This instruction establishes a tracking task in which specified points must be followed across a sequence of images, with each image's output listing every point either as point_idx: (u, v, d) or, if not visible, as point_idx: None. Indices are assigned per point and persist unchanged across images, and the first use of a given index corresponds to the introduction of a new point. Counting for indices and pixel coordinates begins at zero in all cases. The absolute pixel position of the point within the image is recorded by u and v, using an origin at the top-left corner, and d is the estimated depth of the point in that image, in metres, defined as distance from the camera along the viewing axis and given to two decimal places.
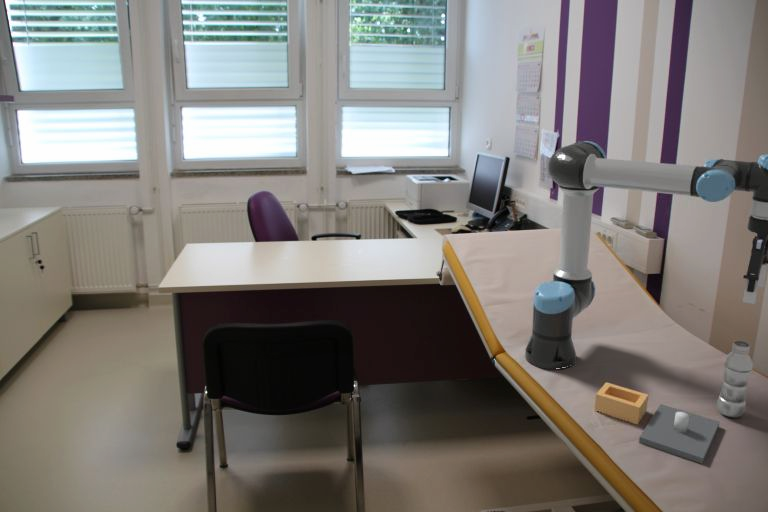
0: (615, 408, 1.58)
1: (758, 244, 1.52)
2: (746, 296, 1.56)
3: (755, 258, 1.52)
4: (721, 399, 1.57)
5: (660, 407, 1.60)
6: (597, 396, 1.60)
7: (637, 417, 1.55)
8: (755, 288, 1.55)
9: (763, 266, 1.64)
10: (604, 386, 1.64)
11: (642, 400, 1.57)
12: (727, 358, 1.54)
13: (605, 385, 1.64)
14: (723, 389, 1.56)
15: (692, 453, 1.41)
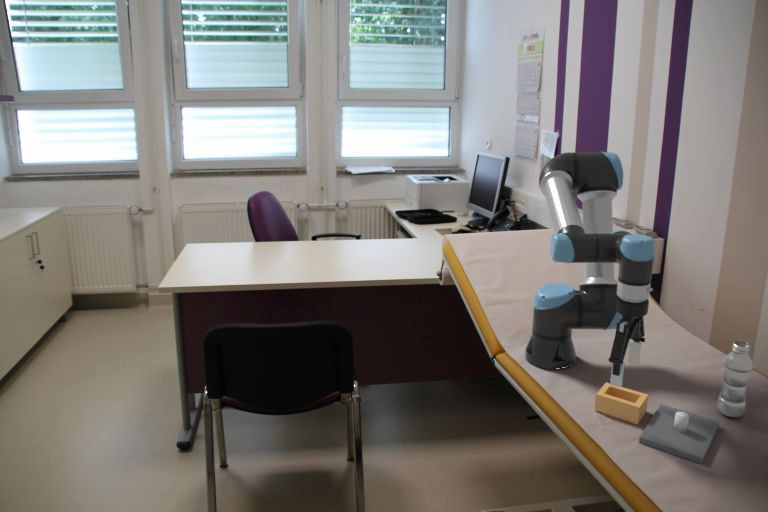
0: (615, 408, 1.58)
1: (621, 327, 1.48)
2: (613, 379, 1.52)
3: (618, 342, 1.48)
4: (721, 399, 1.57)
5: (660, 407, 1.60)
6: (597, 396, 1.60)
7: (637, 417, 1.55)
8: (620, 371, 1.50)
9: (637, 344, 1.60)
10: (604, 386, 1.64)
11: (642, 400, 1.57)
12: (727, 358, 1.54)
13: (605, 385, 1.64)
14: (723, 389, 1.56)
15: (692, 453, 1.41)
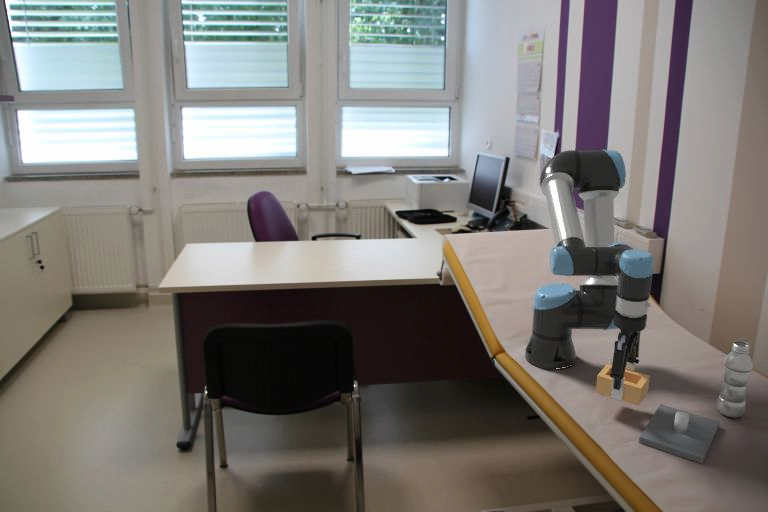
0: None
1: (619, 346, 1.50)
2: (613, 392, 1.57)
3: (617, 359, 1.51)
4: (721, 399, 1.57)
5: (660, 407, 1.60)
6: (598, 377, 1.59)
7: (638, 398, 1.54)
8: (621, 386, 1.55)
9: (631, 365, 1.60)
10: (605, 367, 1.62)
11: (644, 381, 1.55)
12: (727, 358, 1.54)
13: (606, 366, 1.63)
14: (723, 389, 1.56)
15: (692, 453, 1.41)
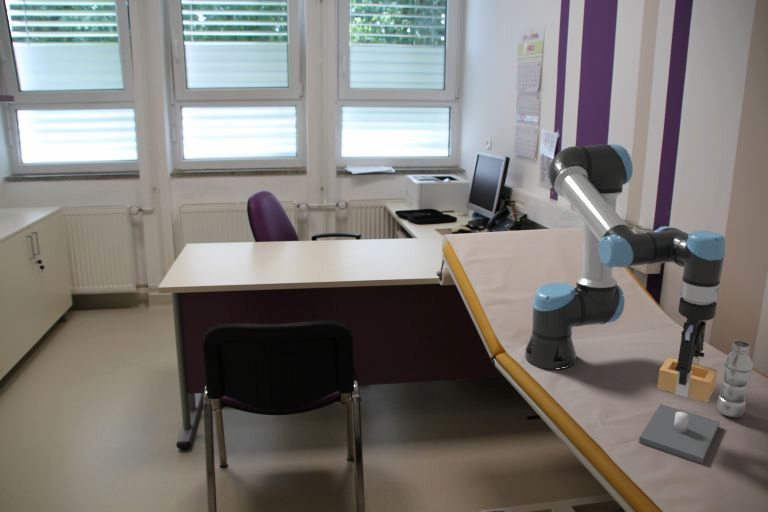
0: None
1: (687, 336, 1.37)
2: (678, 388, 1.43)
3: (684, 351, 1.38)
4: (721, 399, 1.57)
5: (660, 407, 1.60)
6: (660, 372, 1.46)
7: (707, 394, 1.40)
8: (687, 380, 1.41)
9: (695, 359, 1.47)
10: (667, 361, 1.49)
11: (712, 375, 1.42)
12: (727, 358, 1.54)
13: (668, 360, 1.50)
14: (723, 389, 1.56)
15: (692, 453, 1.41)
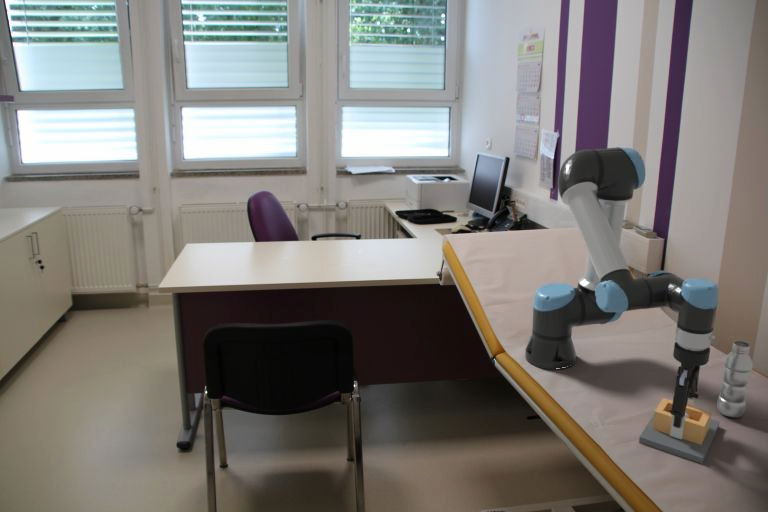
0: None
1: (681, 381, 1.40)
2: (673, 430, 1.47)
3: (679, 395, 1.41)
4: (721, 399, 1.57)
5: None
6: (656, 413, 1.49)
7: (701, 437, 1.44)
8: (682, 423, 1.45)
9: (690, 401, 1.51)
10: (662, 402, 1.53)
11: (706, 418, 1.46)
12: (727, 358, 1.54)
13: (663, 401, 1.53)
14: (723, 389, 1.56)
15: (692, 453, 1.41)
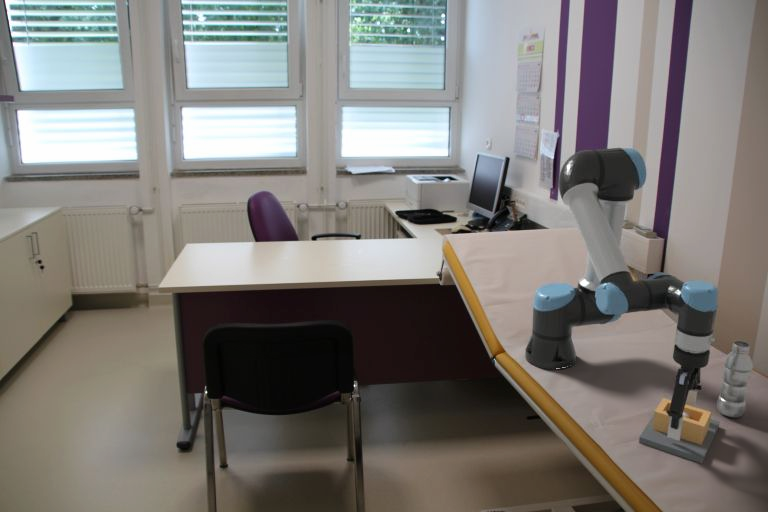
0: None
1: (681, 379, 1.40)
2: (670, 432, 1.45)
3: (678, 394, 1.40)
4: (721, 399, 1.57)
5: None
6: (656, 413, 1.49)
7: (701, 437, 1.44)
8: (679, 425, 1.43)
9: (693, 392, 1.52)
10: (662, 402, 1.53)
11: (706, 418, 1.46)
12: (727, 358, 1.54)
13: (663, 401, 1.53)
14: (723, 389, 1.56)
15: (692, 453, 1.41)
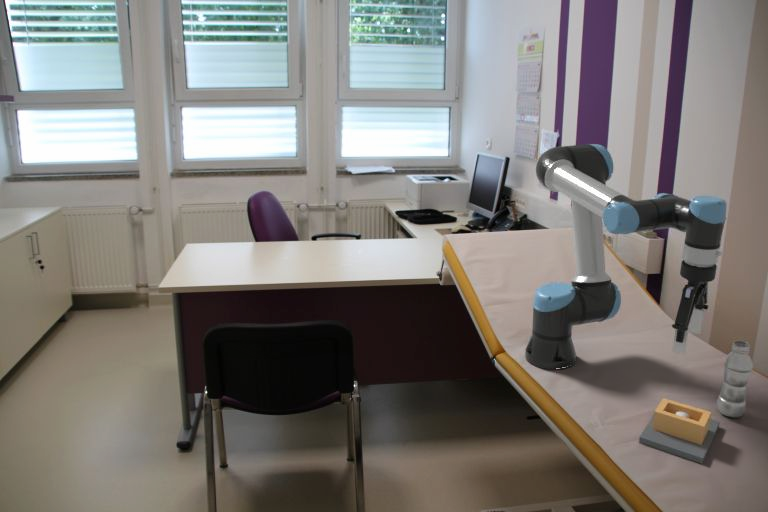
0: (675, 427, 1.47)
1: (687, 292, 1.42)
2: (675, 346, 1.47)
3: (684, 307, 1.42)
4: (721, 399, 1.57)
5: None
6: (656, 413, 1.49)
7: (701, 437, 1.44)
8: (684, 338, 1.45)
9: (699, 311, 1.54)
10: (662, 402, 1.53)
11: (706, 418, 1.46)
12: (727, 358, 1.54)
13: (663, 401, 1.53)
14: (723, 389, 1.56)
15: (692, 453, 1.41)
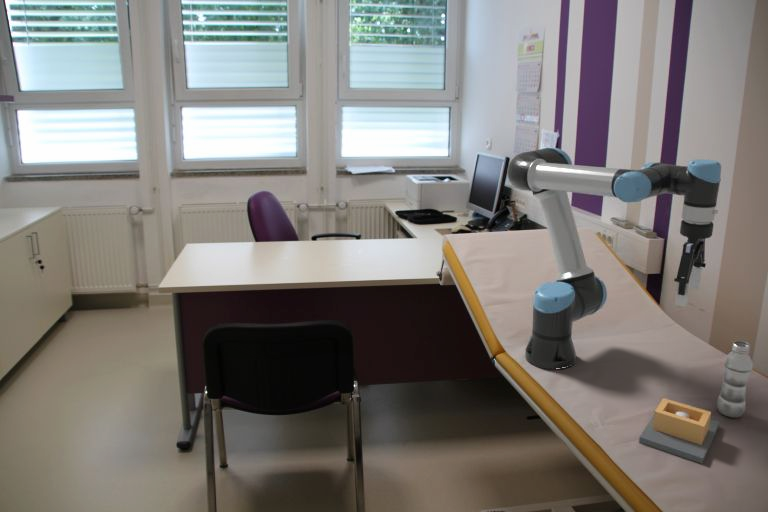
0: (675, 427, 1.47)
1: (688, 248, 1.54)
2: (678, 299, 1.59)
3: (685, 262, 1.55)
4: (721, 399, 1.57)
5: None
6: (656, 413, 1.49)
7: (701, 437, 1.44)
8: (686, 291, 1.57)
9: (698, 269, 1.67)
10: (662, 402, 1.53)
11: (706, 418, 1.46)
12: (727, 358, 1.54)
13: (663, 401, 1.53)
14: (723, 389, 1.56)
15: (692, 453, 1.41)
